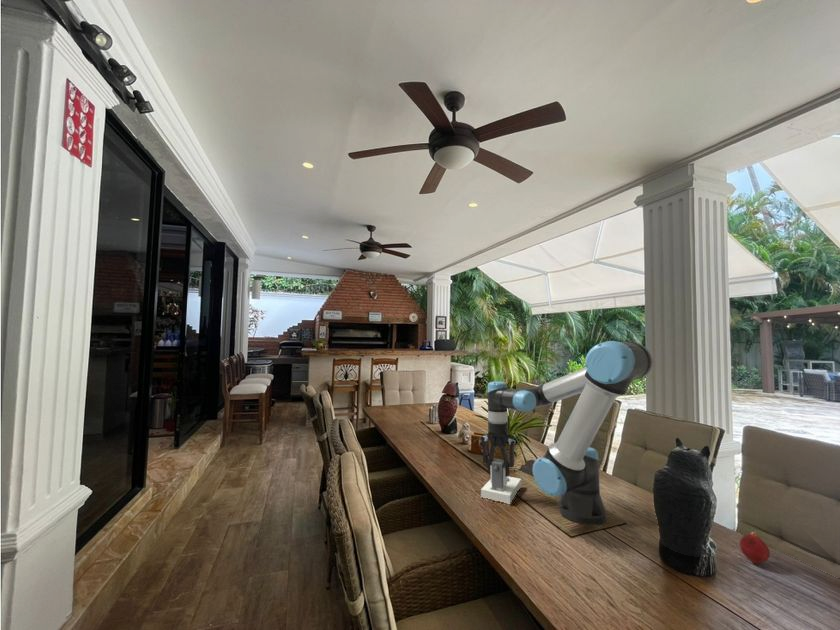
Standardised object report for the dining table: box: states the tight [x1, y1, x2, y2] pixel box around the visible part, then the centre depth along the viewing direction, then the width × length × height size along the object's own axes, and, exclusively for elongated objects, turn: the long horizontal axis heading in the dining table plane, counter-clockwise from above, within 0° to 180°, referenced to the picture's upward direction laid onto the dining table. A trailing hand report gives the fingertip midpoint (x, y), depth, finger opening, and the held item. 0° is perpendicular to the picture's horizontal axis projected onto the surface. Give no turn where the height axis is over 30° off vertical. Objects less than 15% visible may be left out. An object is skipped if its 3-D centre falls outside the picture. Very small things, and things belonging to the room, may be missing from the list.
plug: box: [492, 458, 505, 489], centre depth 133 cm, size 4×7×9 cm, turn 151°
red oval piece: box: [739, 531, 771, 565], centre depth 94 cm, size 6×6×8 cm
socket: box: [480, 476, 522, 504], centre depth 137 cm, size 11×18×4 cm, turn 151°
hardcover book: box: [518, 459, 536, 478], centre depth 158 cm, size 16×23×2 cm
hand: (498, 483), depth 134 cm, fingers open, 4 cm apart
